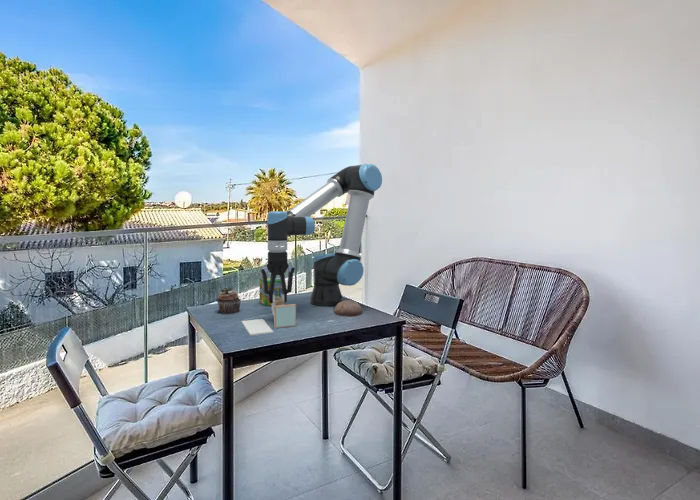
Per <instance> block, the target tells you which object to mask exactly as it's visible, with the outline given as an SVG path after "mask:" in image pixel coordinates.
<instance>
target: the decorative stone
mask: <svg viewBox="0 0 700 500" xmlns="http://www.w3.org/2000/svg"><path fill="white" fill-rule="evenodd" d="M333 314H335V315H337V316H341V317H356V316H360V315H362V314H363V308H362V306H361V305H360V303H358V302H356V301H354V300H352V299H344V300H343V301H341V302H339V303H338V304H337V305H335V306H334V309H333Z"/></svg>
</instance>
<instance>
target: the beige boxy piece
mask: <svg viewBox="0 0 700 500" xmlns="http://www.w3.org/2000/svg"><path fill="white" fill-rule="evenodd" d="M279 305H285V302H284V300H282V299H281V298H280V297H275V306H279ZM271 312H272V313H271V314H272V316H273V317H274V312H273V311H271Z"/></svg>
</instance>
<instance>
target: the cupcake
mask: <svg viewBox="0 0 700 500" xmlns="http://www.w3.org/2000/svg"><path fill="white" fill-rule="evenodd" d="M241 301H242V299H240V297H239V294H238V293H237V292H236V291H235V290H234V288H232V287H230V288H227V287H224V288H223V289H221V290H220V291H219V295H218V297H217V299H216V302H217V304H218V310H219V313H220V314H222V315H231V314H237V313H239V312H240V309H241V308H240V307H241Z"/></svg>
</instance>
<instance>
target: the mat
mask: <svg viewBox="0 0 700 500" xmlns="http://www.w3.org/2000/svg"><path fill="white" fill-rule="evenodd" d="M241 324H242V325H243V327H244V328H245V330H246V331H247V333H248V335H249V336H251V337H253V336H261V335H271V334H274V330H273V329H272V328H271V327H270V325H269V324H267V323H266V321H265V319H263V318H260V319H258V318H257V319H249V320H241Z"/></svg>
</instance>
